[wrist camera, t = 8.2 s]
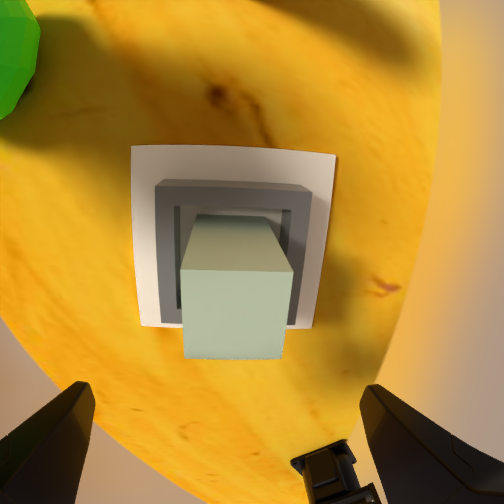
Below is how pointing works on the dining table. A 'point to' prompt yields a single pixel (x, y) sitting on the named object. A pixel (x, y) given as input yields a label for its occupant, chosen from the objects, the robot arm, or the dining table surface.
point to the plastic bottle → (16, 51)
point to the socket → (226, 203)
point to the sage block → (234, 289)
